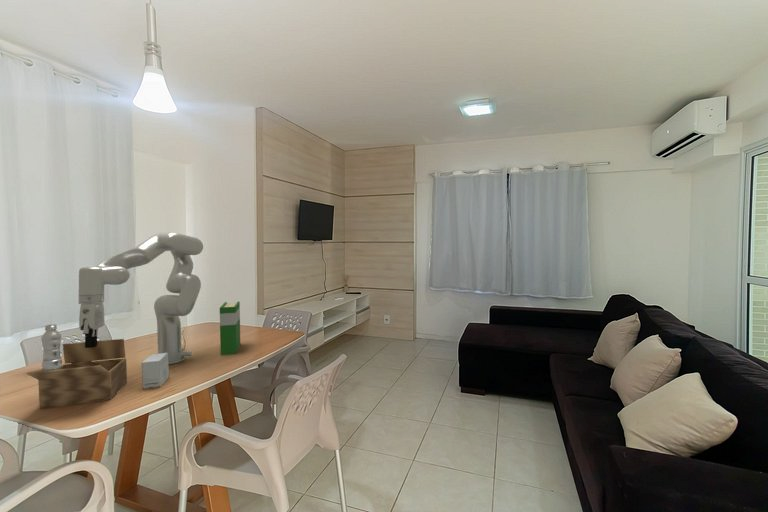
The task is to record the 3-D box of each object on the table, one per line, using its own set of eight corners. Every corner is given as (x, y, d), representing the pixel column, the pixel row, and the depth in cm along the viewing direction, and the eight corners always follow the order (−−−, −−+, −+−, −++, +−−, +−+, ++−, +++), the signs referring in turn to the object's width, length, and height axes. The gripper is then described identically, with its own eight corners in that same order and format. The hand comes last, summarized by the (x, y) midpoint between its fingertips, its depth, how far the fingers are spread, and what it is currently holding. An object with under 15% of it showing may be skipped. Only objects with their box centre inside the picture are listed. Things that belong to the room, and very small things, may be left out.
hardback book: (225, 345, 189) (224, 302, 188) (240, 344, 191) (239, 301, 191) (220, 355, 172) (219, 307, 172) (236, 353, 174) (235, 306, 174)
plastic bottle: (50, 367, 157) (48, 324, 156) (66, 366, 157) (64, 323, 157) (37, 372, 150) (35, 327, 150) (54, 372, 151) (52, 326, 150)
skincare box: (151, 378, 142) (151, 353, 142) (169, 377, 144) (168, 352, 144) (141, 389, 132) (140, 362, 132) (160, 386, 134) (159, 360, 134)
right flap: (125, 357, 138) (125, 357, 138) (123, 339, 136) (123, 338, 137) (64, 363, 131) (65, 363, 132) (62, 344, 130) (63, 343, 130)
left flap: (100, 365, 117) (100, 366, 116) (108, 371, 123) (108, 372, 123) (27, 372, 110) (26, 374, 110) (39, 378, 116) (39, 380, 116)
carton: (127, 382, 138) (126, 358, 138) (111, 399, 123) (110, 371, 123) (64, 390, 131) (63, 364, 131) (39, 409, 116) (38, 379, 116)
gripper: (95, 301, 126) (95, 351, 126) (110, 296, 140) (110, 341, 140) (69, 301, 123) (69, 353, 123) (87, 297, 137) (87, 343, 137)
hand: (91, 346), depth 132 cm, fingers closed
